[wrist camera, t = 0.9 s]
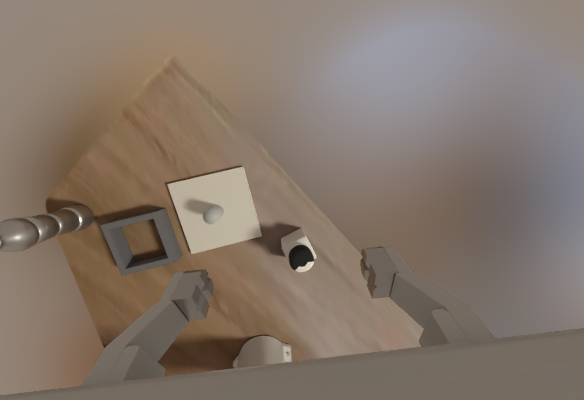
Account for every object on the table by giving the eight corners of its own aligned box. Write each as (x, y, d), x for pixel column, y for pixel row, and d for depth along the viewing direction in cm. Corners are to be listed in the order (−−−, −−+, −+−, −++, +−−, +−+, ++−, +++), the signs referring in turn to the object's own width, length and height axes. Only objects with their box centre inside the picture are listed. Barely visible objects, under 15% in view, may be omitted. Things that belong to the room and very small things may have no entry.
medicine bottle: (279, 238, 60) (282, 256, 48) (301, 227, 60) (309, 242, 48) (290, 258, 61) (295, 280, 50) (312, 247, 61) (321, 267, 50)
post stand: (262, 235, 59) (261, 244, 52) (193, 252, 58) (182, 264, 51) (243, 166, 55) (239, 166, 48) (169, 183, 54) (154, 186, 47)
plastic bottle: (103, 215, 54) (8, 245, 34) (86, 232, 54) (-19, 272, 35) (82, 198, 53) (-30, 218, 33) (64, 216, 53) (-58, 246, 33)
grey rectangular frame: (182, 255, 58) (175, 261, 54) (132, 268, 57) (121, 275, 53) (165, 208, 55) (157, 211, 51) (112, 220, 54) (99, 225, 50)
